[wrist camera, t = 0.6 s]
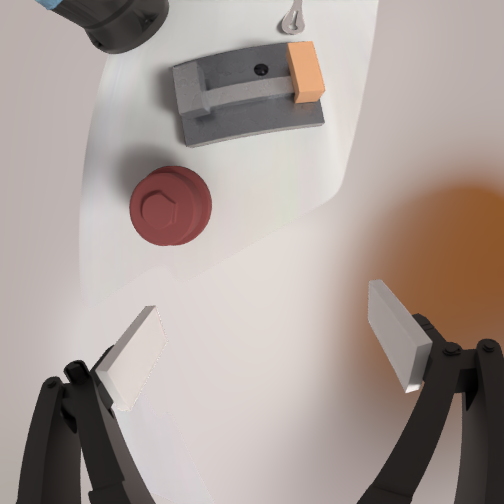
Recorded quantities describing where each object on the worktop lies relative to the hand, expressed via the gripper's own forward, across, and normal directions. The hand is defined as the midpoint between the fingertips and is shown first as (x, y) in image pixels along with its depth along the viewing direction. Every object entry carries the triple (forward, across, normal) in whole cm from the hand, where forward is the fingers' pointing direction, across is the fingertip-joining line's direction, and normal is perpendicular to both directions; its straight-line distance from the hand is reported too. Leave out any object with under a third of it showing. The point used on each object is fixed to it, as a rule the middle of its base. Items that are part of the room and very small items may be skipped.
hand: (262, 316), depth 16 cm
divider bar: (+23, 0, +20) cm, 31 cm away
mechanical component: (+26, -11, +6) cm, 29 cm away
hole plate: (+26, 0, +20) cm, 33 cm away
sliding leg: (+23, +8, +20) cm, 31 cm away
